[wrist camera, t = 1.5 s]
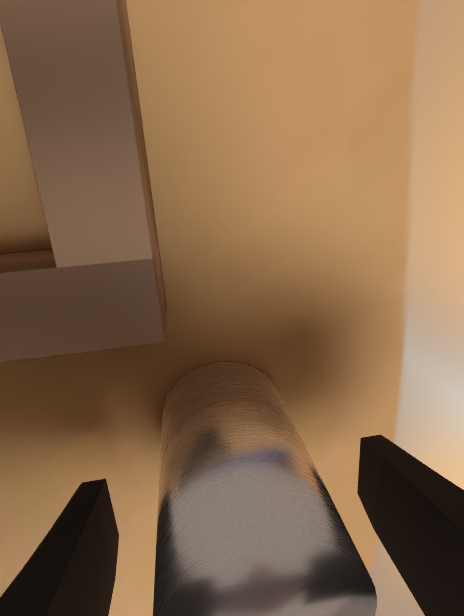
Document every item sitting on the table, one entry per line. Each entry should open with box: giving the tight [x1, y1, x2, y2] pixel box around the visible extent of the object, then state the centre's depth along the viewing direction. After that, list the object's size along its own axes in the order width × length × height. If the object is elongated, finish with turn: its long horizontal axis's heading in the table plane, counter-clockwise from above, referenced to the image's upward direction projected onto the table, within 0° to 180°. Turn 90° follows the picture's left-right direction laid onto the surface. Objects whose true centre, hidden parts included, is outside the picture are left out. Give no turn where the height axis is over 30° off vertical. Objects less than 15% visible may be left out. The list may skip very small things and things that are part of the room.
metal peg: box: [153, 361, 377, 616], centre depth 10 cm, size 4×4×7 cm
